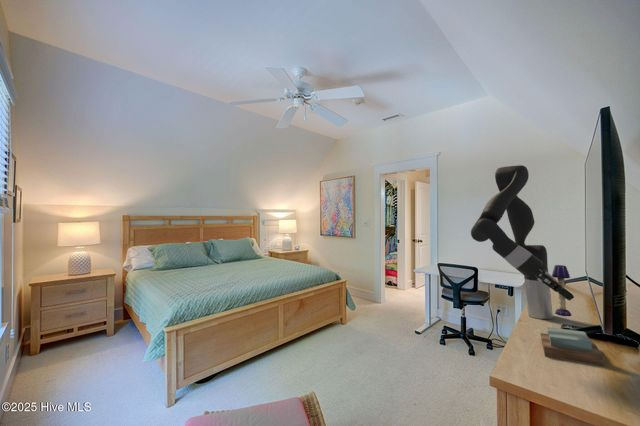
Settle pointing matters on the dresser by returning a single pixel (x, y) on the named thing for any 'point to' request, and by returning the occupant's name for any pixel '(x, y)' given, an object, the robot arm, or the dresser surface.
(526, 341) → the dresser surface
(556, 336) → the brick stand
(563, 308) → the toy lamp
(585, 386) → the dresser surface
